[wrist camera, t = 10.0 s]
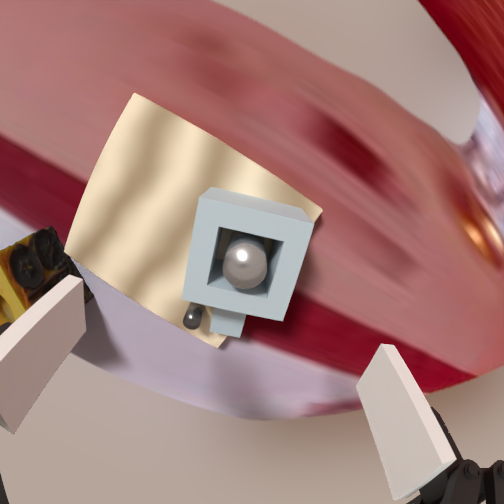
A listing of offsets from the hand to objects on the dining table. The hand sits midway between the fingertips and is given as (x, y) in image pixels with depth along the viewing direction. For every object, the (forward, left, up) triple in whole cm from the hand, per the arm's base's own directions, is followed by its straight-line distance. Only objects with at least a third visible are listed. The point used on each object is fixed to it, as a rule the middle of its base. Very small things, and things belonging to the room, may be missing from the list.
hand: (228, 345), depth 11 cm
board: (-5, -3, -17) cm, 18 cm away
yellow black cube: (-17, -18, -17) cm, 30 cm away
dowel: (0, -9, -15) cm, 17 cm away
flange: (+1, -3, -15) cm, 15 cm away
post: (+1, 0, -15) cm, 15 cm away
